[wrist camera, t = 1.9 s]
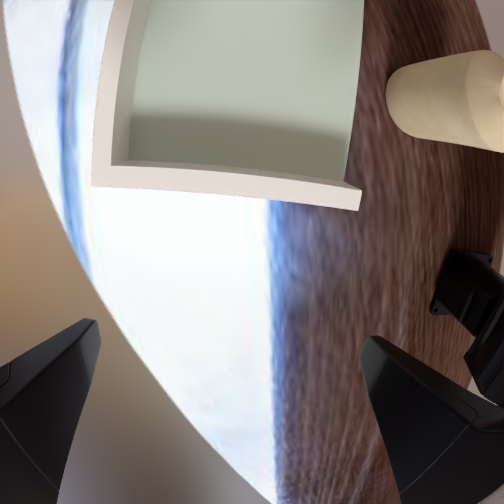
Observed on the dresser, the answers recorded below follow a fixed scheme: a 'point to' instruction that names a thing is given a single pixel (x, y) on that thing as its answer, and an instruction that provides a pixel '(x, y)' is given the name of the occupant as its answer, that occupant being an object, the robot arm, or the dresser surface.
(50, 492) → the robot arm
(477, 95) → the candle
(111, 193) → the dresser surface
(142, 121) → the box
